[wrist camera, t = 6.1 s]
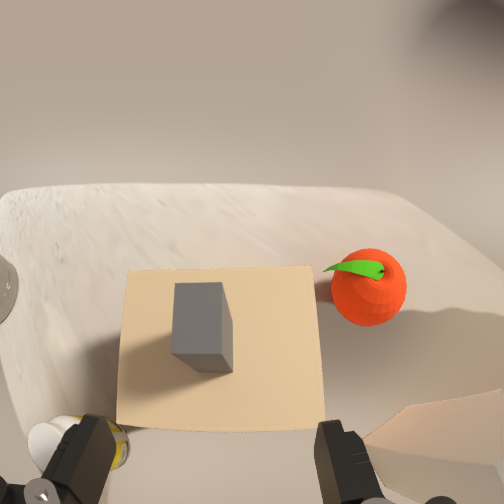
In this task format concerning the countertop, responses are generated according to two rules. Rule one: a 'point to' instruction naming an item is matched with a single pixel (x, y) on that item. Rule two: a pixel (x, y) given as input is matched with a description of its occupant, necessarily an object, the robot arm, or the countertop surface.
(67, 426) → the supplement bottle
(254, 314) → the lid
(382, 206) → the countertop surface
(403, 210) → the countertop surface
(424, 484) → the milk
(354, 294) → the clementine
